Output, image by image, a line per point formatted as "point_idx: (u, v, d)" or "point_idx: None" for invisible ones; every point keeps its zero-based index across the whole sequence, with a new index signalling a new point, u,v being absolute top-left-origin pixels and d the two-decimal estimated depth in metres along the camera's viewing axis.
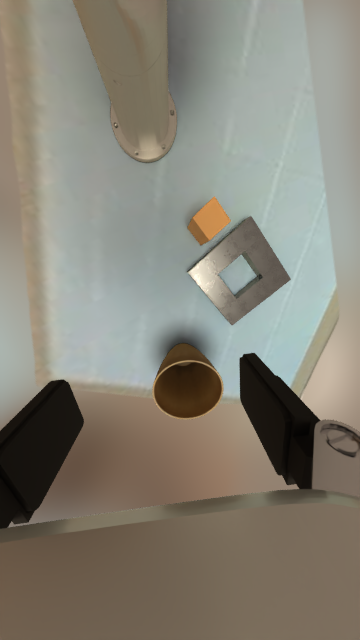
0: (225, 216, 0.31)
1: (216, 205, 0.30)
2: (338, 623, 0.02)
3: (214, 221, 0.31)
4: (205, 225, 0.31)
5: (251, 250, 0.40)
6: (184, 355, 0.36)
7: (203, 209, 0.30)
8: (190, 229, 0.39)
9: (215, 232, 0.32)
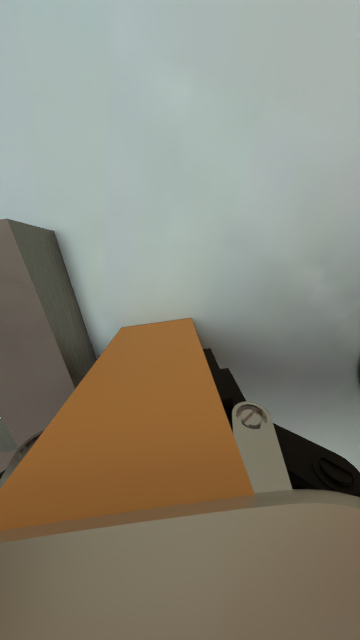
0: None
1: None
2: (338, 623, 0.02)
3: None
4: None
5: None
6: None
7: None
8: (181, 328, 0.11)
9: None
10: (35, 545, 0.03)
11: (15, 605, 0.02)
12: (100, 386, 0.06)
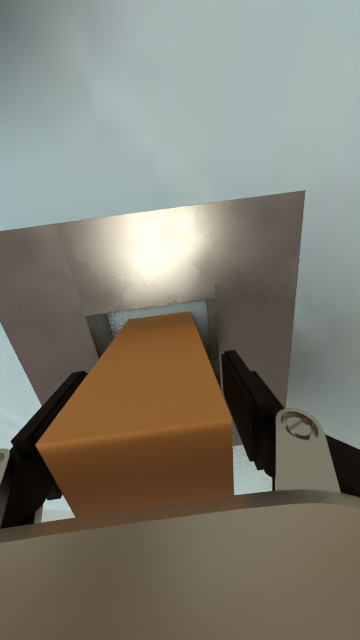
0: None
1: None
2: (338, 623, 0.02)
3: (132, 497, 0.05)
4: (141, 459, 0.05)
5: None
6: None
7: (222, 478, 0.05)
8: (181, 319, 0.12)
9: (70, 482, 0.05)
10: (35, 545, 0.03)
11: (15, 605, 0.02)
12: (116, 360, 0.08)
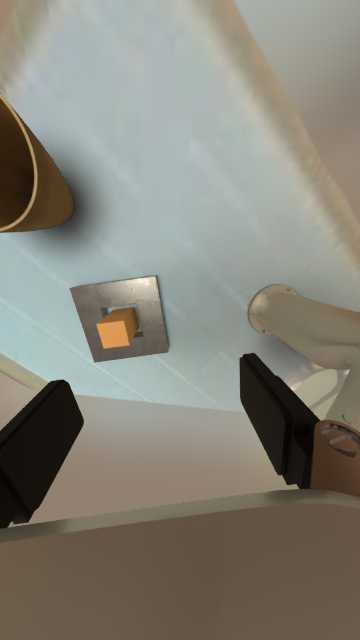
0: (109, 346, 0.33)
1: (121, 343, 0.33)
2: (338, 623, 0.02)
3: (110, 335, 0.32)
4: (111, 327, 0.32)
5: (140, 341, 0.40)
6: (47, 202, 0.23)
7: (124, 332, 0.32)
8: (129, 309, 0.39)
9: (100, 332, 0.32)
10: (35, 545, 0.03)
11: (15, 605, 0.02)
12: (108, 317, 0.35)
